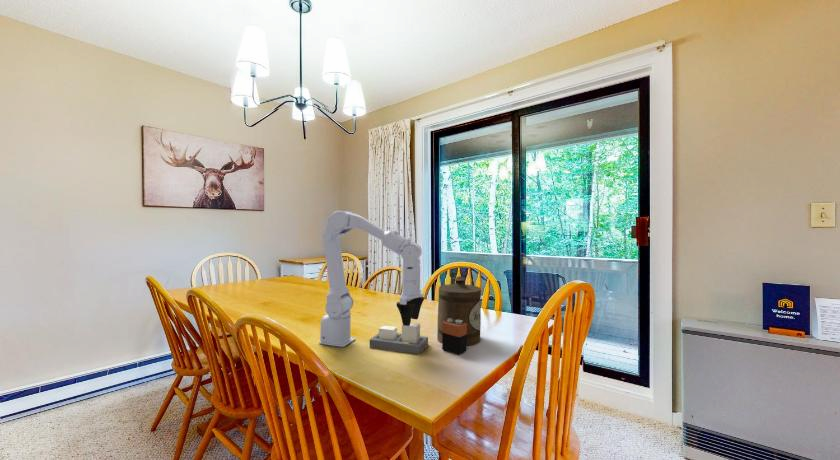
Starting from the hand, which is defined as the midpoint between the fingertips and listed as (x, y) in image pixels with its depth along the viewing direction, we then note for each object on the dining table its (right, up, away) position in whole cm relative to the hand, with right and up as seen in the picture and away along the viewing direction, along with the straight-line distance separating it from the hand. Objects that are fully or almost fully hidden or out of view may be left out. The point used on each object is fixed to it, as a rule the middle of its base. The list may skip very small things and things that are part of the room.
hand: (410, 322), depth 109 cm
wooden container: (+17, -9, +8) cm, 20 cm away
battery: (+14, -9, -3) cm, 17 cm away
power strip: (-4, -8, +1) cm, 9 cm away
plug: (0, -8, 0) cm, 8 cm away
